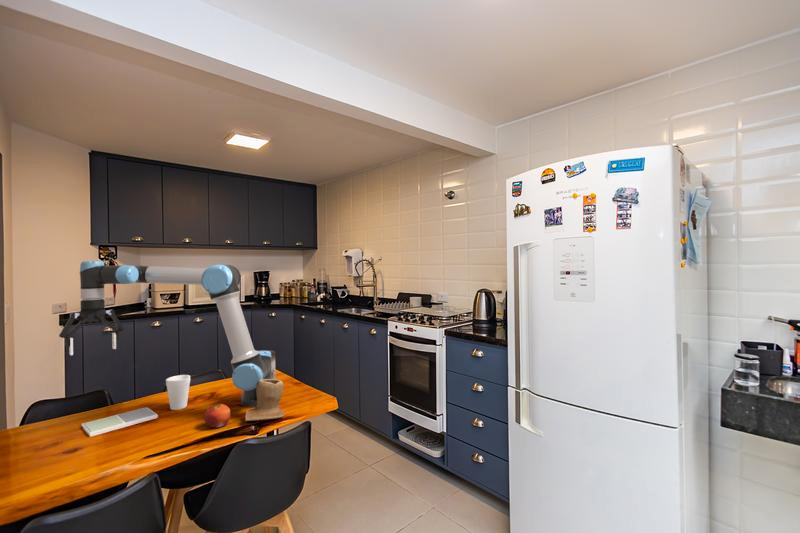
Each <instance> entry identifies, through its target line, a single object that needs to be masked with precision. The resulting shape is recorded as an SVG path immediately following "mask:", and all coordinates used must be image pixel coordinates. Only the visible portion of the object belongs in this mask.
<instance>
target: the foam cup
mask: <svg viewBox="0 0 800 533" xmlns="http://www.w3.org/2000/svg"><path fill="white" fill-rule="evenodd" d="M190 384H191V375H189V374H179V375H174V376H169V377H168V378H166V379H165V386H166V390H167V395H168V402H169V407H170V410H172V411H173V410H174V411H176V410H177V411H178V410H182V409H186V407H188V399H189V393H190V392H189V391H190Z"/></svg>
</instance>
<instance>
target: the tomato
mask: <svg viewBox="0 0 800 533" xmlns="http://www.w3.org/2000/svg"><path fill="white" fill-rule="evenodd" d="M230 419H231V409H230V408H229V406H227V405H226V404H223V403H218V404H216V405H214V406H212V407H209V408H208V409H207V410H205V414H204V423H205V425H207V426H209V427H211V428H220V427H224V426H226V425H227V424H228V423H229V421H230Z"/></svg>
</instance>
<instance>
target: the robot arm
mask: <svg viewBox="0 0 800 533" xmlns="http://www.w3.org/2000/svg"><path fill="white" fill-rule="evenodd" d="M79 278H80V279H79V280H80V299H81V300H80V311H79V312H73V311H72V312H70V313H69V318H68V321H67V322H66V323H65V325H64V327H63V328H62V329H61V332H60V333H59V335H58V337H59V338H62V339H65V346H66V348H68V350H69V351H68V352H69V353H68V354H69V355H70V356H73V355H74V338H73V335H75V333H76V332H77V331H78V330H79V329H81V327H83V325H84V324H86V323H87V324H88V323H93V322H94V323H99V322H102V323H103V324H105V325H106V326H107V327H108V328H109V329H110V330H112V331H113V332H112V333H111V335H112V336H111V341H112V342H111V344H112V345H111V346H112V347H111V348H112V349H113V350H117V341H119V340H120V333H121V332H123V331H125V327H124V326H123V325H122V323H121V322H120V320H119V318H118V317H117V315H116V312H115V310H114V309H109V310H108V309H107V310H106V308H105V305H106V304H105V299H104V298H105V296H106V295H105V285H130V284H138V283H139V284H166V285H169V284H170V285H171V284H172V285H192V286H194V285H195V286H202V287H203V289H204V290H205V291H206V292H208V295H209V297H210V298H209V299H210V301H212V302H214V303H215V304H216V308H217V310H218V313H219V317H220V319H221V323H222V326H223V329H224V332H225V335H226V338H227V341H228V345H229V347H230V351H231V354H232V358H231V360H230V364H231V367H232V371H233V372H232V374H231V375H232V376H231V380H232V383H233V385H234V386H235V387H236V388H237V389H238V390H240V391H242V394H241V397H240V404H241V406H243V407H247V408H248V407H249V408H252V407H253V408H255V407H256V406H257V393H256V389H257V385H258V382H259V381H260V380H262V379H272V371H271V358H272V357H271V352H270V351H269V350H256V349H255V348H254V344H253V342H252V338H251V335H250V332H249V328H248V325H247V322H246V318H245V316H244V313H243V309H242V306H241V303H240V299H239V295H240V293H241V290H240V287H239V285H240V283H241V280H242V274H241V272H240V270H239V269H238V267H236V266H234V265H230V264H214V265H211V266H209V267H207V268H206V267H205V268H204V267H202V268H201V267H179V266H178V267H177V266H155V265H154V266H152V265H149V266H148V265H129V264H127V265H126V264H125V265H123V264H122V265H105V263H104V261H101V260H83V261H82V262H80V267H79ZM106 314H107V315H109V316H110V317H111V319H112V320H113V322H114V323H115V325H116V326H117V327H118V328H117V327H116V326H115V325H113V324H112V323H111V322H110V321H108V320H107V319H106V317H105V316H106ZM78 317H79V318H81V319H80V320H79V322H78V323H77V324H76V325H74V326H73V328H72V329H71V330H69V329H70V328H71V326H72V324H73V323H74V321H75V319H77V318H78Z"/></svg>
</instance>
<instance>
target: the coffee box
mask: <svg viewBox="0 0 800 533" xmlns="http://www.w3.org/2000/svg"><path fill="white" fill-rule="evenodd" d="M268 351H270V352H271V357H272V358H271V371H272V379H276V351H274V350H271V349H270V350H268Z"/></svg>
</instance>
